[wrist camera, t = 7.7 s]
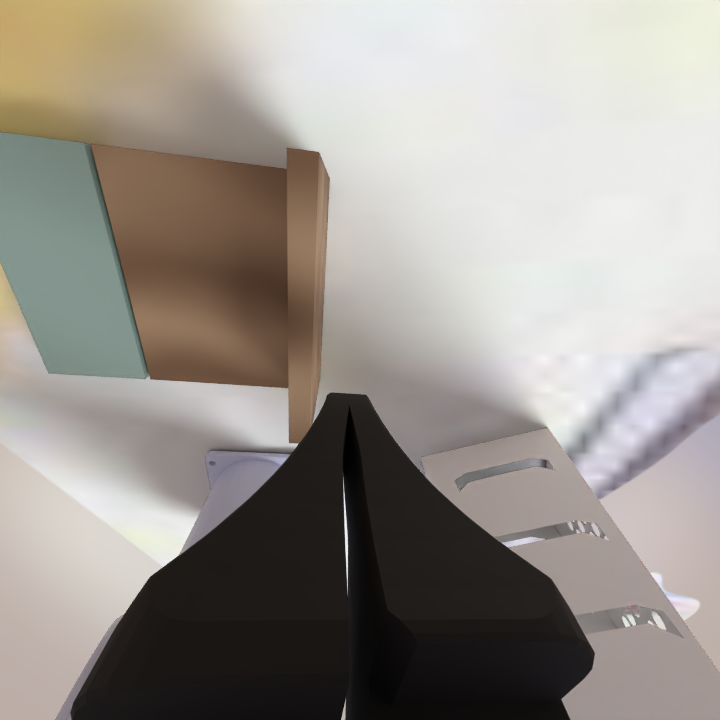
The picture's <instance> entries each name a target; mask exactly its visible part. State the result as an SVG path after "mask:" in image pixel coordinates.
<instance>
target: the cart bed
mask: <svg viewBox="0 0 720 720" xmlns="http://www.w3.org/2000/svg"><path fill="white" fill-rule="evenodd" d="M91 147H92V150H93V154H94V158H95V162H96V166H97V170H98V174H99V178H100V182H101V186H102V190H103V194H104V198H105V202H106V206H107V210H108V213H109V217H110V221H111V225H112V229H113V233H114V237H115V241H116V245H117V249H118V253H119V257H120V261H121V265H122V269H123V273H124V276H125V280H126V284H127V288H128V292H129V296H130V300H131V304H132V308H133V312H134V316H135V320H136V324H137V328H138V332H139V335H140V339H141V343H142V347H143V351H144V355H145V359H146V363H147V367H148V371H149V375H150V379H155V380H171V381H186V382H202V383H218V384H233V385H249V386H265V387H281V388H289V443H300V442H301V440H302V439H303V438H304V436H305V435H306V433H307V432H308V431H309V429H310V428H311V426H312V424H313V418H314V412H315V406H316V400H317V393H318V387H319V381H320V367H321V346H322V325H323V305H324V284H325V263H326V243H327V222H328V201H329V181H330V178H329V176H328V173H327V171H326V168H325V166H324V163H323V161H322V158H321V156H320V153H319V152H314V151H307V150H299V149H292V148H287V169H283V168H275V167H267V166H259V165H252V164H244V163H236V162H228V161H220V160H213V159H205V158H197V157H189V156H182V155H174V154H166V153H158V152H151V151H143V150H135V149H127V148H120V147H112V146H104V145H96V144H91Z"/></svg>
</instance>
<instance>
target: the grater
mask: <svg viewBox="0 0 720 720" xmlns="http://www.w3.org/2000/svg"><path fill="white" fill-rule="evenodd" d="M531 458H533V459H545V460H547V464H546V468H542V467H538V466H536V467H531V468H527V469H522V470H518V471H513V472H509V473H504V474H500V475H496V476H492V477H488V478H484V479H480V480H476V481H472V482H468V483H467V484H466V485H465V487H464V488H463V489H462V490H461V491H460V492H459V490H458V487H457V485H456V482H455V480H456V479H458V478H459V477H461V476H462V475H463V474H465V473H468V472H473V471H477V470H482V469H486V468H491V467H495V466H500V465H504V464H508V463H513V462H517V461H522V460H526V459H531ZM421 460H422V464H423V468H424V472H425V477H426V478H427V479H428V480H429V481H430V482H431V483H432V484H433V485H434V486H435V487H436V488H437V489H438V490H439V491H440V492H441V493H442V494H443V495H444V496H445V497H447V498H448V499H449V500H450V501H451V502H452V503H453V504H454V505H455V506H456V507H458V508H459V509H460V510H461V511H462V512H463V513H464V514H466V515H467V516H468V517H469V518H470V519H471V520H473V521H474V522H475V523H476V524H478V525H479V526H480V527H481V528H483V529H484V530H485V531H487V532H488V533H489V534H490V535H492V536H493V537H494V538H495V539H497V540H498V541H499V542H501V543H503V542H508V541H513V540H518V539H523V538H528V537H536V538H543V539H545V540H543V541H538V542H533V543H528V544H523V545H518V546H513V547H508V548H509V549H510V550H512V551H513V552H515V553H516V554H517V555H519V556H520V557H522V558H523V559H524V560H526V561H527V562H529V563H530V564H531V565H533V566H534V567H536V568H537V569H539V570H540V571H541V572H543V573H544V574H546V575H547V576H548V577H550V578H551V579H552V580H553V582H554V583H555V585H556V587H557V588H558V590H559V591H560V593H561V594H562V596H563V598H564V599H565V601H566V602H567V604H568V605H569V607H570V609H571V611H572V612H573V614H574V616H575V618H576V620H577V622H578V623H579V625H580V627H581V629H582V631H583V632H584V634H585V636H586V638H587V640H588V641H589V643H590V645H591V647H592V649H593V650H594V652H595V657H594V663H593V668H592V670H591V671H590V673H589V674H588V675H587V676H586V677H585V678H584V679H583V680H582V681H581V682H580V683H579V684H578V685H577V686H576V687H574V688H573V689H572V690H571V691H570V692H569V693H568V694H567V695H565V696H564V697H563V698H562V699H561V700H562V702H563V704H564V706H565V709H566V711H567V713H568V715H569V717H570V720H720V672H719V671H718V669H717V668H716V666H715V665H714V664H713V662H712V661H711V659H710V658H709V656H708V655H707V654H706V652H705V651H704V649H703V648H702V647H701V645H700V644H699V642H698V641H697V639H696V638H695V636H694V635H693V634H692V632H691V631H690V629H689V628H688V626H687V625H686V624H685V622H684V621H683V619H682V618H681V617H680V615H679V614H678V612H677V611H676V609H675V608H674V607H673V605H672V604H671V602H670V601H669V599H668V598H667V597H666V595H665V594H664V592H663V591H662V589H661V588H660V587H659V585H658V584H657V582H656V581H655V579H654V578H653V577H652V575H651V574H650V572H649V571H648V570H647V568H646V567H645V565H644V564H643V562H642V561H641V560H640V558H639V557H638V555H637V554H636V552H635V551H634V550H633V548H632V547H631V545H630V544H629V542H628V541H627V540H626V538H625V537H624V535H623V534H622V532H621V531H620V530H619V528H618V527H617V525H616V524H615V523H614V522H613V520H612V518H611V517H610V515H609V514H608V513H607V511H606V510H605V508H604V507H603V505H602V504H601V503H600V501H599V500H598V498H597V497H596V495H595V494H594V493H593V491H592V490H591V488H590V487H589V486H588V484H587V483H586V481H585V480H584V478H583V477H582V476H581V474H580V473H579V471H578V470H577V468H576V467H575V466H574V464H573V463H572V461H571V460H570V458H569V457H568V456H567V454H566V453H565V451H564V450H563V448H562V447H561V446H560V444H559V443H558V441H557V440H556V439H555V437H554V436H553V434H552V433H551V431H550V430H549V429H548V428H545V429H540V430H536V431H532V432H527V433H523V434H519V435H514V436H510V437H506V438H501V439H497V440H493V441H488V442H484V443H480V444H475V445H471V446H467V447H462V448H458V449H454V450H449V451H445V452H441V453H436V454H432V455H428V456H423V457H421ZM553 467H554V468H555V470H556V471H554V470H553ZM570 521H571V523H572V525H573V529H574V530H573V531H572V530H571V529H570V528H569V525H568V523H567V522H570ZM573 521H574V522H573ZM578 521H580V522H581V523H582V524H583V526H584V529H585V532H582V531H581V530H580V528H579V526H578ZM582 521H583V522H587V523H586V524H584V523H583V522H582ZM591 523H595V524H596V526H597V527H598V529H599V532H600V537H598V536H597V535H596V534H595V532H594V531H593V529H592V526H591ZM576 530H579V531H580V533H577V532H576ZM590 532H592V533H593V534H594V535H595V536H593V535H591V534H590ZM605 535H606V536H607V538H608V539H609V540H610V541H609V540H606V539H604V536H605ZM630 605H636V607H637V609H638V612H639V614H640V617H639V618H638V617H637V616H635V614H634V613H633V612H632V610H631V608H630ZM638 605H639V606H643V608H640V607H639V606H638ZM625 608H627V609H628V610H629V611H630V612H631V614H632V615H633V617H634V619H635V622H636V626H633V625H632V624H631V622H630V621H629V619H628V617H627V615H626V613H625ZM652 611H655V612H656V613H657V614H658V615H659V616H660V618H661V619H662V621H663V623H664V624H665V627H666V631H665V630H663V629H660V628H659V627H658V626H657V624H656V623H655V621H654V619H653V616H652ZM592 612H593V613H592ZM622 616H624V617H625V618H626V619H627V621H628V622H629V624H630V627H625V625H624V623H623V620H622ZM648 620H650V621H651V622H652V623H653V624H654V625H655V626H653V625H651V624H649V623H648Z"/></svg>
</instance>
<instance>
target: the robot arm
mask: <svg viewBox="0 0 720 720" xmlns="http://www.w3.org/2000/svg"><path fill="white" fill-rule="evenodd" d="M205 460H206V465H207V471H208V476H209V482H210V487H211V492H210V494H209V496H208V498H207V500H206V502H205V504H204V506H203V508H202V510H201V512H200V514H199V516H198V518H197V520H196V522H195V524H194V526H193V528H192V530H191V532H190V534H189V536H188V538H187V540H186V542H185V544H184V546H183V548H182V550H181V552H180V554H179V556H177V557H176V558H175V559H173V560H172V561H171V562H169V563H168V564H167V565H166V566H164V567H163V568H162V569H160V570H159V571H158V572H156V573H155V574H153V575H152V576H151V577H150V578H149V579H148V581H147V582H146V583H145V585H144V586H143V588H142V589H141V591H140V592H139V593H138V595H137V597H136V598H135V600H134V601H133V602H132V604H131V605H130V607H129V608H128V610H127V611H126V613H125V614H124V615H122V616H121V617H119V618H117V619H116V620H115V621H114V623H113V624H112V625H111V627H110V628H109V629H108V631H107V632H106V634H105V635H104V637H103V638H102V640H101V642H100V643H99V645H98V646H97V648H96V650H95V651H94V653H93V654H92V656H91V658H90V659H89V661H88V663H87V664H86V666H85V668H84V670H83V671H82V673H81V675H80V677H79V678H78V680H77V681H76V683H75V685H74V687H73V688H72V690H71V692H70V694H69V695H68V698H67V699H66V701H65V703H64V705H63V706H62V708H61V710H60V712H59V714H58V715H57V717H56V719H55V720H341V717H342V712H343V708H344V703H345V699H346V719H345V720H570V717H569V715H568V713H567V711H566V709H565V706H564V704H563V702H562V700H561V699H562V698H563V697H564V696H565V695H567V694H568V693H569V692H570V691H571V690H572V689H573V688H574V687H576V686H577V685H578V684H579V683H580V682H581V681H582V680H583V679H584V678H585V677H586V676H587V675H588V674H589V673H590V671H591V670H592V668H593V663H594V657H595V652H594V650H593V649H592V647H591V645H590V643H589V641H588V640H587V638H586V636H585V634H584V632H583V631H582V629H581V627H580V625H579V623H578V622H577V620H576V618H575V616H574V614H573V612H572V611H571V609H570V607H569V605H568V604H567V602H566V601H565V599H564V598H563V596H562V594H561V593H560V591H559V590H558V588H557V587H556V585H555V583H554V582H553V580H552V579H551V578H550V577H548V576H547V575H546V574H544V573H543V572H541V571H540V570H539V569H537V568H536V567H534V566H533V565H531V564H530V563H529V562H527V561H526V560H524V559H523V558H522V557H520V556H519V555H517V554H516V553H515V552H513V551H512V550H510V549H509V548H508V547H506V546H505V545H503V544H502V543H501V542H499V541H498V540H497V539H495V538H494V537H493V536H492V535H490V534H489V533H488V532H487V531H485V530H484V529H483V528H481V527H480V526H479V525H478V524H476V523H475V522H474V521H473V520H471V519H470V518H469V517H468V516H467V515H466V514H464V513H463V512H462V511H461V510H460V509H459V508H458V507H456V506H455V505H454V504H453V503H452V502H451V501H450V500H449V499H448V498H447V497H445V496H444V495H443V494H442V493H441V492H440V491H439V490H438V489H437V488H436V487H435V486H434V485H433V484H432V483H431V482H430V481H429V480H428V479H427V478H426V477H425V476H424V475H423V474H422V473H421V472H420V471H419V470H418V468H417V467H416V466H415V465H414V464H413V463H412V462H411V460H410V459H409V458H408V457H407V455H406V454H405V453H404V452H403V450H402V449H401V448H400V447H399V445H398V444H397V443H396V441H395V440H394V439H393V437H392V436H391V434H390V433H389V431H388V430H387V428H386V427H385V425H384V424H383V422H382V421H381V419H380V418H379V416H378V414H377V413H376V411H375V409H374V407H373V406H372V404H371V402H370V400H369V398H368V397H367V396H366V395H361V394H345V393H329V394H328V395H327V397H326V400H325V403H324V405H323V407H322V409H321V411H320V413H319V415H318V416H317V418H316V420H315V421H314V423H313V424H312V426H311V428H310V429H309V431H308V432H307V433H306V435H305V436H304V438H303V439H302V440H301V442H300V443H299V444H298V446H297V447H296V448H295V450H294V451H293V452H292V453H291V454H276V453H253V452H231V451H209V452H208V453H207V454H206V456H205ZM213 461H214V462H213ZM343 477H344V491H345V504H346V517H347V530H348V595H347V576H346V555H345V530H344V498H343Z"/></svg>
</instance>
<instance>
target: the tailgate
mask: <svg viewBox="0 0 720 720" xmlns="http://www.w3.org/2000/svg"><path fill="white" fill-rule="evenodd" d="M0 262H1V264H2V267H3V269H4V271H5V274H6V276H7V278H8V281H9V283H10V285H11V288H12V290H13V292H14V295H15V297H16V299H17V302H18V304H19V306H20V308H21V311H22V313H23V315H24V318H25V320H26V322H27V325H28V327H29V329H30V332H31V334H32V336H33V339H34V341H35V343H36V346H37V348H38V350H39V352H40V355H41V357H42V359H43V362H44V364H45V366H46V369H47V371H48V373H50V374H68V375H85V376H103V377H121V378H138V379H146V378H147V377H148V376H150V375H149V371H148V367H147V363H146V359H145V355H144V351H143V347H142V343H141V339H140V335H139V332H138V328H137V324H136V320H135V316H134V312H133V308H132V304H131V300H130V296H129V292H128V288H127V284H126V280H125V276H124V273H123V269H122V265H121V261H120V257H119V253H118V249H117V245H116V241H115V237H114V233H113V229H112V225H111V221H110V217H109V213H108V210H107V206H106V202H105V198H104V194H103V190H102V186H101V182H100V178H99V174H98V170H97V166H96V162H95V158H94V154H93V150H92V147H91V145H89V144H86V143H81V142H73V141H65V140H58V139H50V138H42V137H35V136H27V135H19V134H12V133H4V132H0Z"/></svg>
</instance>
